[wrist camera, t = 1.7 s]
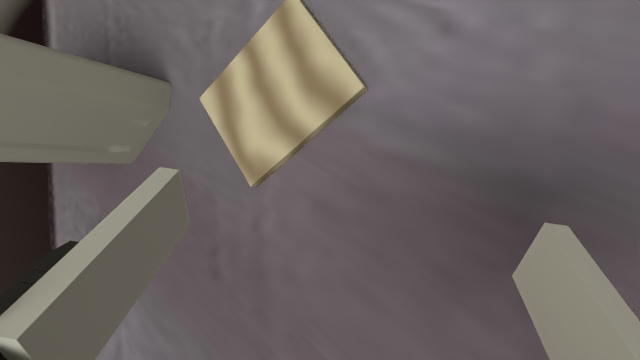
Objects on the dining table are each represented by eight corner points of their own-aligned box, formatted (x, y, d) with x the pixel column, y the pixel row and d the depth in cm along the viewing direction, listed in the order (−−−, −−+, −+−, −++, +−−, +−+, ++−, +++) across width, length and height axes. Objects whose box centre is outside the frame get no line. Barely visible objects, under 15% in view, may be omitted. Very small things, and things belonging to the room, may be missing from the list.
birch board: (298, -3, 42) (292, -9, 41) (368, 89, 38) (364, 86, 37) (206, 100, 49) (199, 98, 48) (257, 186, 46) (250, 186, 44)
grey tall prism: (95, 156, 62) (-163, 146, 37) (101, 78, 61) (-163, 12, 36) (163, 172, 54) (-111, 172, 29) (171, 82, 53) (-108, 0, 28)
